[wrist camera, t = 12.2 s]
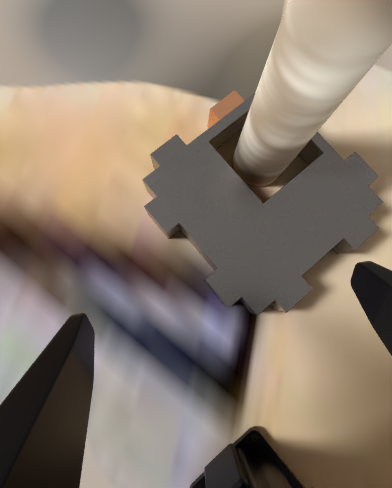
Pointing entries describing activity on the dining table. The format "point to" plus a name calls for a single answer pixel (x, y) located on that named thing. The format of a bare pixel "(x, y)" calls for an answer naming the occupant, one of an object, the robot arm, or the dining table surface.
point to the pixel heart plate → (259, 212)
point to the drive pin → (308, 79)
